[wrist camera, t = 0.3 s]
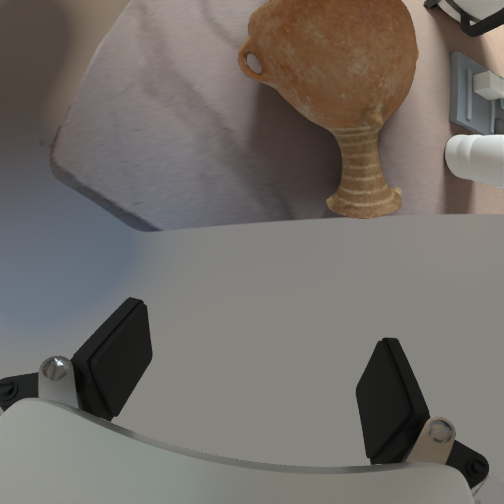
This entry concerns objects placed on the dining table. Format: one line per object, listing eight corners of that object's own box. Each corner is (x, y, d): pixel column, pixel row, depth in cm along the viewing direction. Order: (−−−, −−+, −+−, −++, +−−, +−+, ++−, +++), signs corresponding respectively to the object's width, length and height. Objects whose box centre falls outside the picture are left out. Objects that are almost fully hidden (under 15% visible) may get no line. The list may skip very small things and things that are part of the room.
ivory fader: (472, 75, 25) (489, 70, 20) (487, 84, 24) (504, 81, 20) (473, 91, 26) (490, 87, 21) (487, 100, 26) (505, 97, 21)
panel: (450, 53, 26) (460, 48, 23) (522, 101, 25) (533, 100, 21) (449, 120, 31) (460, 119, 27) (520, 161, 29) (531, 163, 26)
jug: (413, -20, 15) (468, 195, 27) (317, 16, 31) (363, 182, 43) (300, -79, 7) (403, 268, 20) (203, 12, 23) (271, 228, 35)
